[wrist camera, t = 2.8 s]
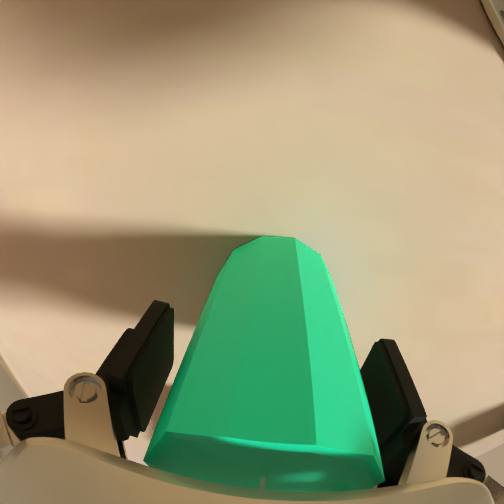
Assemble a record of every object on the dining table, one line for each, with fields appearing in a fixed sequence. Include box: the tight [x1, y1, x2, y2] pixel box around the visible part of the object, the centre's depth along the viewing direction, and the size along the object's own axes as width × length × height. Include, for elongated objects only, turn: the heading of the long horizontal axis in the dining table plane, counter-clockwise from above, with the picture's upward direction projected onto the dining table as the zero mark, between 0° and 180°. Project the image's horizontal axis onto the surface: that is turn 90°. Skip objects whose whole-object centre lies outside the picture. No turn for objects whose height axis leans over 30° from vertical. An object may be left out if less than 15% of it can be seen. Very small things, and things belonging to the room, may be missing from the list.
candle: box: [143, 236, 385, 492], centre depth 9 cm, size 6×6×12 cm
